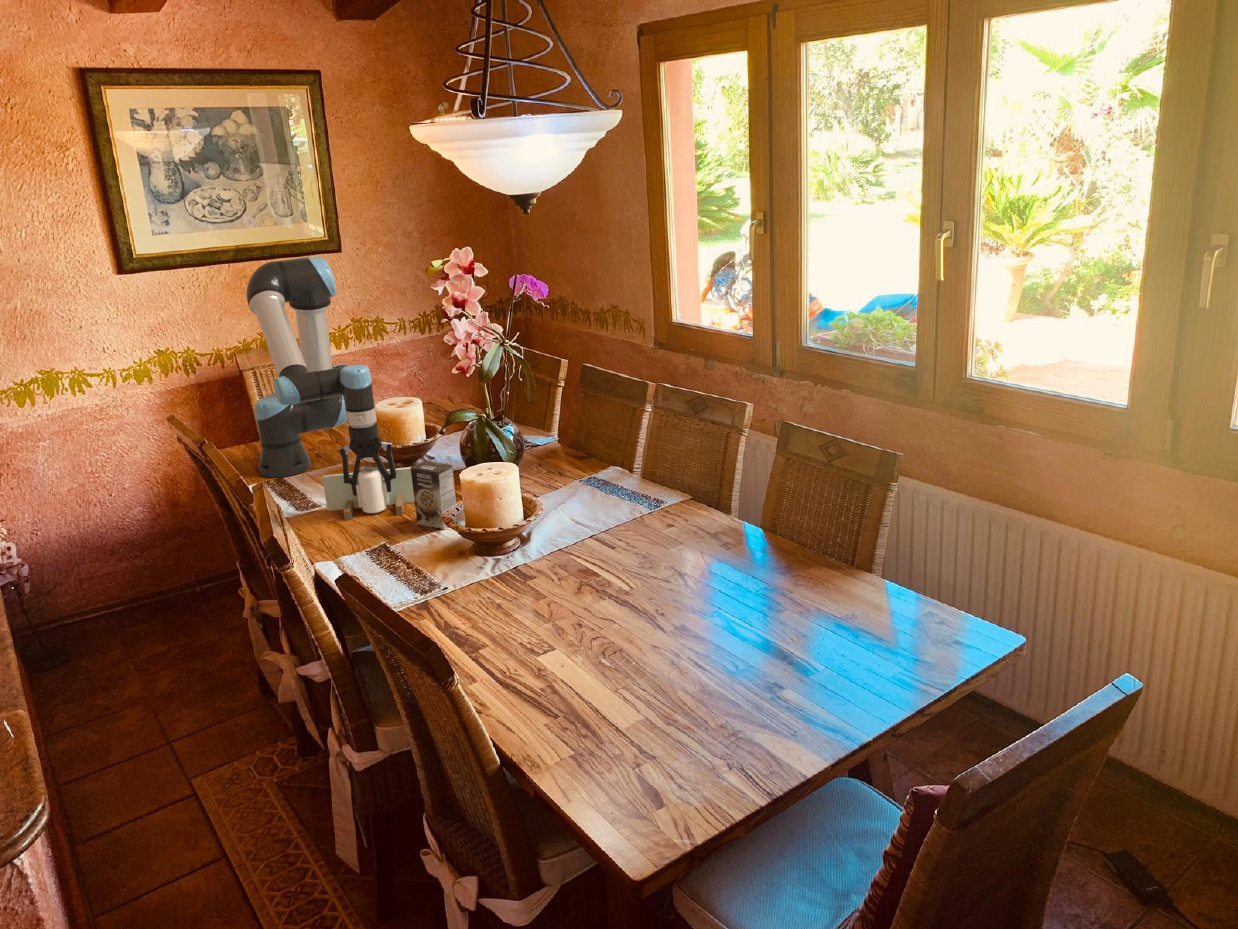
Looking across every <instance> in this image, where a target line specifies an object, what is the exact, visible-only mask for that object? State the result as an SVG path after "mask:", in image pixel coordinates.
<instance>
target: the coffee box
mask: <svg viewBox="0 0 1238 929" xmlns="http://www.w3.org/2000/svg"><path fill="white" fill-rule="evenodd" d="M410 467H411V468H410V469H411V476H412V484H413V492H414V500H415V502H414V507H415V515H416V521H417V522H416V524H417V525H419V526H425V527H429V528H432V527H434V528H433V529H437V528H441V529H440V530H442V529H445V528H446V529H448V528H449V527H446V526H445V524H444V523H443V520H442V517H443V514H444V513H446V512H447V511H448V510H451V509H453V508H454V507H456V508H457V500H456V499H457V498H456V490H455V480H454V470H453V464H448V463H442V462H436V461H429V460H424V461H422V462H419V463H416V464H415V465H413V466H410ZM446 529H445V530H446Z"/></svg>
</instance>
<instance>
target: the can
mask: <svg viewBox="0 0 1238 929" xmlns="http://www.w3.org/2000/svg"><path fill="white" fill-rule="evenodd" d="M357 477H358V484H359V489H360V496H361V503H362V508H361V509H362V512H364V513H366V514H369V515H371V514H379V513H382V512H383V511H386V509H387V506H388V505H386V503H385V496H384V489H383V477H382V474H381V472H380V470H379V468H378V466H377V464H367V465H363V466H359V470H358V475H357Z"/></svg>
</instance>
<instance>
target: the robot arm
mask: <svg viewBox="0 0 1238 929" xmlns="http://www.w3.org/2000/svg"><path fill="white" fill-rule="evenodd" d="M336 295H337V286H336V282H335V279H334V275H333V272H332V269H331V268H330V265H329V263H328V261H327V260H326V259H324V258H323V257H322V256H319V257H317V256H316V257H308V256H307V257H302V258H293V259H284V260H272V261H268V262H265V263H264V264H261V265H260V266H259V267H257V269H255V271H253V273H252V275H251V277H250V278H249V280H248V283H247V287H246V301H247V305H248V308H249V311H250V312H251V313H252V314H253V315H256V318H257V321H258V324H259V326H260V329H261V331H262V335H263V338H264V340H265V344H266V346H267V349H268V351H269V353H270V357H271V359H272V363H273V365H274V368H275V370H276V373H277V376H278V377H276V378H274V380H273V388H274V393H271V394H268V395H266V396H263V397H261V398H260V399H258V400H257V401H256V402H255V403H254V414H255V415H254V418H255V421H256V425H257V430H258V436H259V440H260V441H259V443H260V447H261V451H260V456H259V462H258V463H259V464H258V470H259V474H261V476H263V477H267V478H283V477H284V478H285V477H291V476H295V475H298V474H302V473H304V472H306V471H307V470H309V469H310V468H311V467H312V464H311V463H312V462H311V458H310V455H309V454H308V452H307V450H306V449H305V447H304V445H303V442H302V438H301V434H305V433H311V432H315V431H322V430H327V429H333V428H336V427H340V426H342V425H344V424H345V423H346V422H347V425H348V435H349V443H348V445H342V446H340V448H339V454H340V456H341V458H342V474H343V476H344V483H345V484H347V483H348V484H351V485H352V491H353V495H354V496H357V497H358V503H359V508H358V509H362V503H361V496H360V489H359V484H358V482H356V480H357V475H358V472H359V471H358V470H359V468H360V467H361V466H360V465H361V461H362V459H366V458H370V459H371V458H372V460H373V461H374V462H375V465H377V466H378V468H379V470H380V472H381V474H382V476H383V478H384V479H383V489H384V496H385V503H386V506H390V505H389V497H388V492H391V480H392V479H395V478H396V470H395V469H396V467H395V466H396V465H395V462H394V457H393V456H394V455H393V453H392V446H393V444H392V442H391V441H388V442H383V441H382V440H381V438H380V433H379V427H378V426H379V425H378V423H377V411H376V405H375V399H374V392H373V383H372V376H371V372H370V368H369V366H368V365H365V364H351V365H350V364H349V365H348V364H346V363H339V364H336V365H334V366H333V363H332V362H333V361H332V352H331V341H330V334H329V324H328V317H327V309H329V307H330V306H331V304H332V301H331V298H333V297H335V296H336ZM286 303H288V304H289V307H290V308H291V309H292V310H293V311H295V316H296V324H297V326H296V327H297V332H298V341H299V343H298V342H297V338H296V336H295V333H294V331H293V328H292V326H291V322H290V320H289V318H288V315H287V312H286V310H285V306H286V305H285V304H286ZM381 447H382V449H383V451H385V455H386V460H387V464H388V469H390V473H391V474H389V473H388V472H387V470H386V469H387V468H386V465H385V464H384V462H383V460H382V458H381V456H380V454H379V451H380V449H381ZM350 451H352V453H354V455H356V458H355V462H354V467H353V471H352V473H353V476H352V478H349V473H350V469H349V468H350V467H349V454H350Z"/></svg>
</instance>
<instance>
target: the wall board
mask: <svg viewBox="0 0 1238 929" xmlns="http://www.w3.org/2000/svg"><path fill="white" fill-rule="evenodd" d="M411 467H412V466H408V467H399V468H396V467H395V470H396V478H395V479H392V480H391V492H388V497H389V505H388V506H391V505H395V512H396V516H401V515H404V506H405V504H411V503H415V500H414V492H413V484H412V476H411V469H410V468H411ZM386 470H387V472H388V473H389V474H391V473H390V469H389V468H388V469H387V468H386ZM352 476H353V472H349V478H352ZM382 477H383V476H382ZM383 479H384V478H383ZM321 480H322V485H323V490H324V496H325V498H324V499H325V503H326V509H327V512H332V511H342V510H343V518H344V521H351V520H352V518H353V515H354V514H353V513H354V509H360V508H359V503H358V497H357V496H354V495H353V491H352V485H351V484H348V483H347V484H345V483H344V476H343V473H336V474H328V475H327V474H325V475H322V478H321ZM356 482H358V477H357V480H356Z"/></svg>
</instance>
